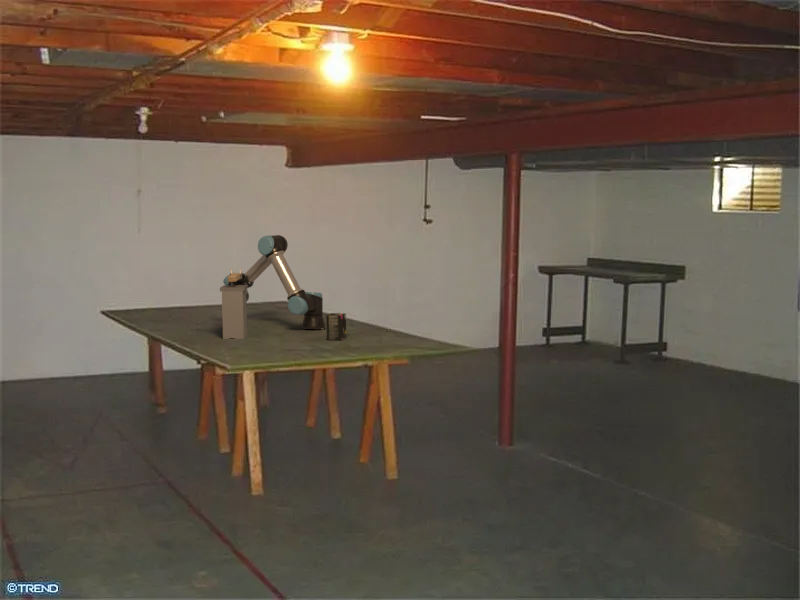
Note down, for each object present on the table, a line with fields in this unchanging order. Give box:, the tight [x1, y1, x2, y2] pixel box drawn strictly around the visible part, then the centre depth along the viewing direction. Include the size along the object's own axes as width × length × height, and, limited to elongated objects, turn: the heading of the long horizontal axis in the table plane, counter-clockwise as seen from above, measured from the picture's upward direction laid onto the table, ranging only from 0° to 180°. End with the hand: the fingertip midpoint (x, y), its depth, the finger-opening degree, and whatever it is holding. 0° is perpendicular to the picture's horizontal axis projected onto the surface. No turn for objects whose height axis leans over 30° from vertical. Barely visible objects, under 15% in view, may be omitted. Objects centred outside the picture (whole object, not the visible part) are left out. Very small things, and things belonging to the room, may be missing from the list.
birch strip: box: [227, 272, 241, 282], centre depth 533 cm, size 28×4×3 cm, turn 3°
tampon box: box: [325, 312, 347, 341], centre depth 518 cm, size 11×9×15 cm
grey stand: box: [219, 284, 249, 340], centre depth 529 cm, size 18×14×30 cm
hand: (236, 271), depth 538 cm, fingers closed on birch strip, 4 cm apart
